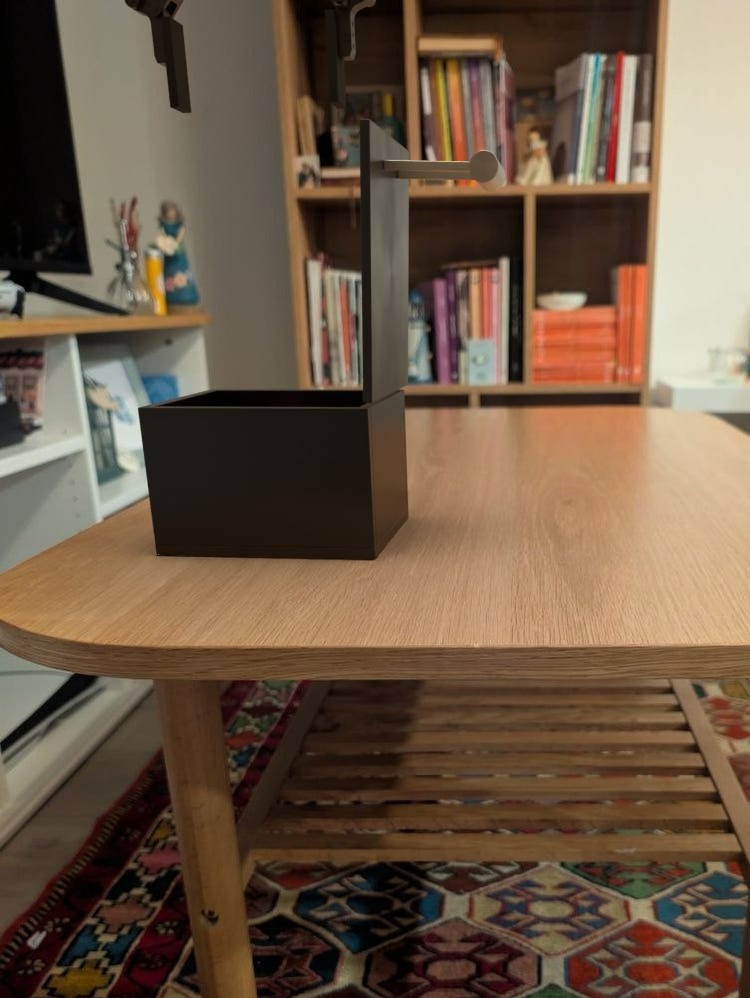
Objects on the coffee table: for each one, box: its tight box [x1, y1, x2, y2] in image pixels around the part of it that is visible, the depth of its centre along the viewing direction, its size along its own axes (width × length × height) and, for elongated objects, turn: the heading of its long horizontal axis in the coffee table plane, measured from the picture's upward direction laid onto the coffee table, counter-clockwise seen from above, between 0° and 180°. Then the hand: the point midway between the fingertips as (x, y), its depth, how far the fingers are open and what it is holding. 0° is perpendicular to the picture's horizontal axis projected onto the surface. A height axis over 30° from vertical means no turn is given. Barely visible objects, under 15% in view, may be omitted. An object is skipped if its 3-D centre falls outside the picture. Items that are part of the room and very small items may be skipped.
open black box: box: [137, 388, 410, 561], centre depth 90 cm, size 20×17×13 cm
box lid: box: [358, 118, 506, 403], centre depth 82 cm, size 21×17×10 cm
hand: (258, 108), depth 79 cm, fingers open, 13 cm apart
